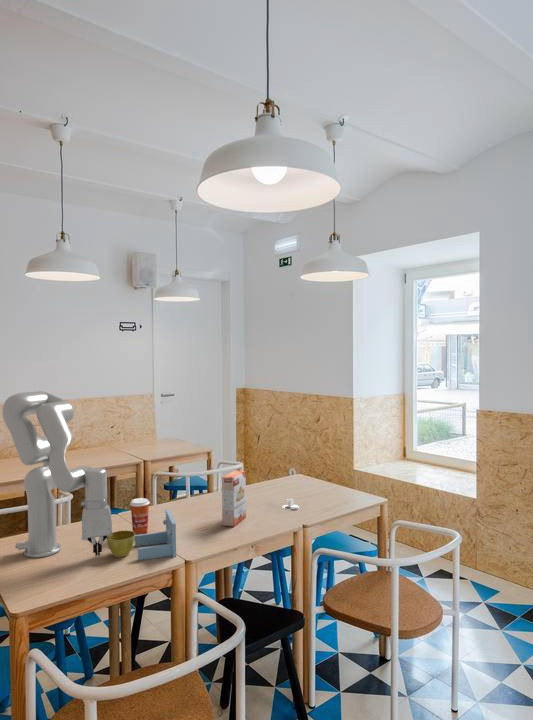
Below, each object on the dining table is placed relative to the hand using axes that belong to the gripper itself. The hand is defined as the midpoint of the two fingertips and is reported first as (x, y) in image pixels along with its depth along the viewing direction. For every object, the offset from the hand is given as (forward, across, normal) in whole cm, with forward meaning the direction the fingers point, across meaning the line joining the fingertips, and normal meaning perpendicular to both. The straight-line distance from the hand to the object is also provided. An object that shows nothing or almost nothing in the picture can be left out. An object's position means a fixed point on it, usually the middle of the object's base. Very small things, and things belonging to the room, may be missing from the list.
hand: (97, 554), depth 184 cm
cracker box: (+2, +56, +22) cm, 60 cm away
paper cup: (+2, +16, +19) cm, 25 cm away
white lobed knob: (+2, +84, +31) cm, 89 cm away
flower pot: (+2, +8, 0) cm, 8 cm away
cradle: (+1, +20, 0) cm, 20 cm away
